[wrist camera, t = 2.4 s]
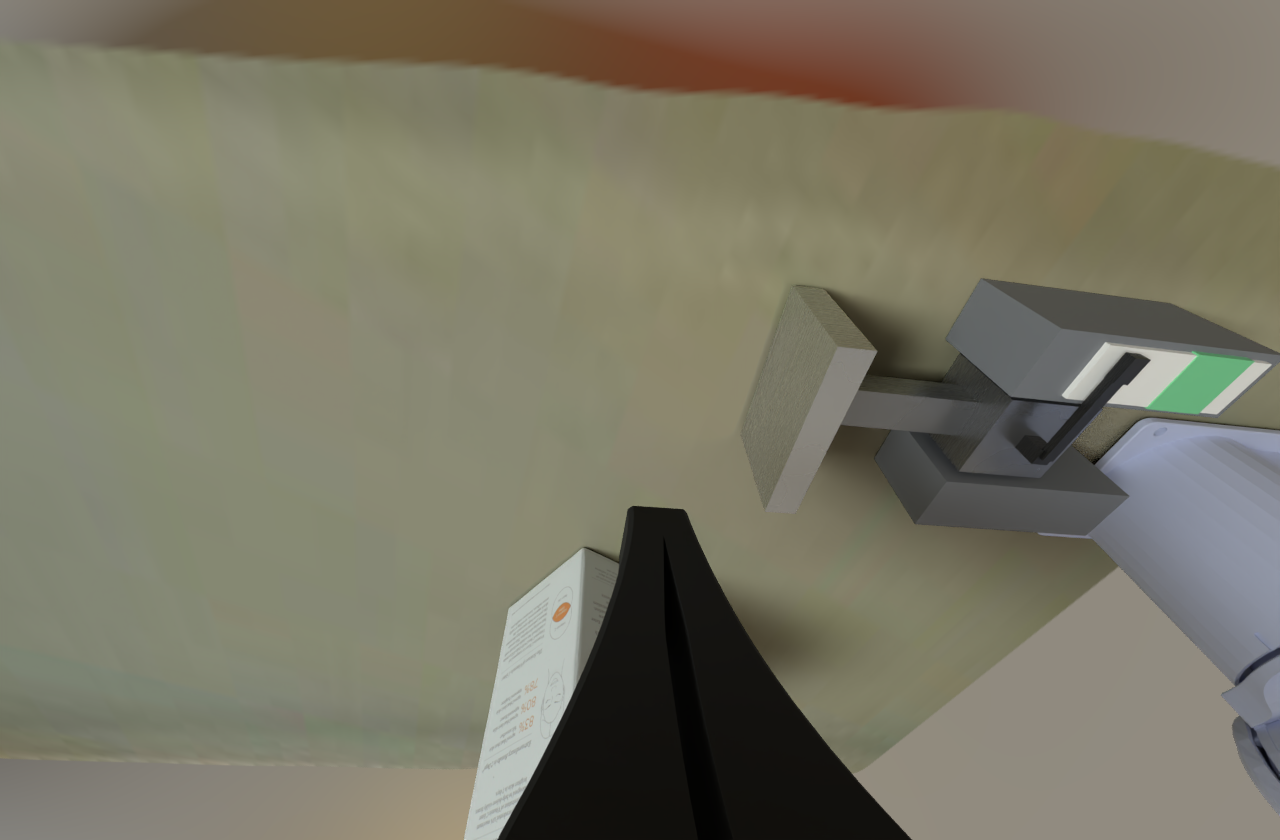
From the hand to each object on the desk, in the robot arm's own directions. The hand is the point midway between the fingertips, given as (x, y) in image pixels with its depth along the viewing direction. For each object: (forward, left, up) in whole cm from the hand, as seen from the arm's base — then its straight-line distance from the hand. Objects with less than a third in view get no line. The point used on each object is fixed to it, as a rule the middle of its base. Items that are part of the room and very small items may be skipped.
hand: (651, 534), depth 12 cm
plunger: (-10, 0, -9) cm, 14 cm away
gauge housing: (-16, 0, -9) cm, 18 cm away
